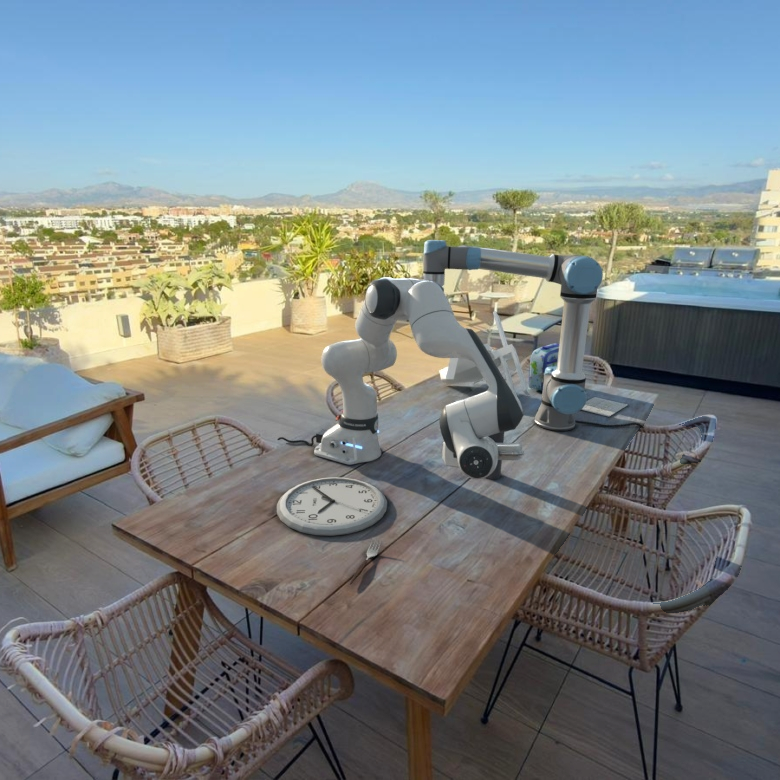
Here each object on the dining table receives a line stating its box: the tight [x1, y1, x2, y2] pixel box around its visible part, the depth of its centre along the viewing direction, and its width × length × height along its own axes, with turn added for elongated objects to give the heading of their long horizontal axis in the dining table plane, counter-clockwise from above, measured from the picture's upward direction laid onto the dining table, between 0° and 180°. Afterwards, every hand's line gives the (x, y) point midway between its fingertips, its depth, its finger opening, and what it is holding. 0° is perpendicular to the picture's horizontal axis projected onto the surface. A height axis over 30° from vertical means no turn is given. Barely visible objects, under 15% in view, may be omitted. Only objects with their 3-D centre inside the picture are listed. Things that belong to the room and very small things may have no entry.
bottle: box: [485, 432, 505, 480], centre depth 158 cm, size 6×6×25 cm
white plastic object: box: [438, 310, 531, 397], centre depth 245 cm, size 37×45×31 cm
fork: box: [349, 538, 383, 585], centre depth 117 cm, size 3×16×2 cm, turn 160°
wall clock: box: [276, 476, 388, 537], centre depth 142 cm, size 30×2×30 cm
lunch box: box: [528, 343, 560, 392], centre depth 249 cm, size 26×11×21 cm, turn 134°
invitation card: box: [580, 396, 629, 418], centre depth 226 cm, size 21×1×15 cm
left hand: (482, 447), depth 139 cm, fingers open, 8 cm apart
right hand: (430, 345), depth 188 cm, fingers open, 13 cm apart
